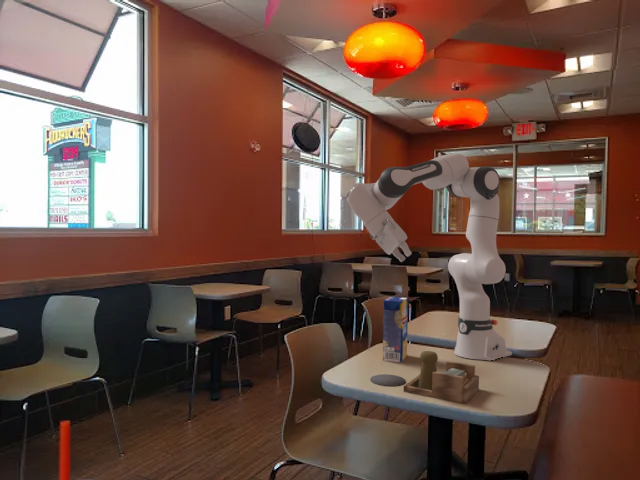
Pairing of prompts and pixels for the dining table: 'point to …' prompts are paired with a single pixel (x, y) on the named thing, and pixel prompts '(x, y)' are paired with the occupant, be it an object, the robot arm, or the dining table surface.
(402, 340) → the beverage box
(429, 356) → the cork
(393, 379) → the coaster
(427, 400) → the dining table surface
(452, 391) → the rack
